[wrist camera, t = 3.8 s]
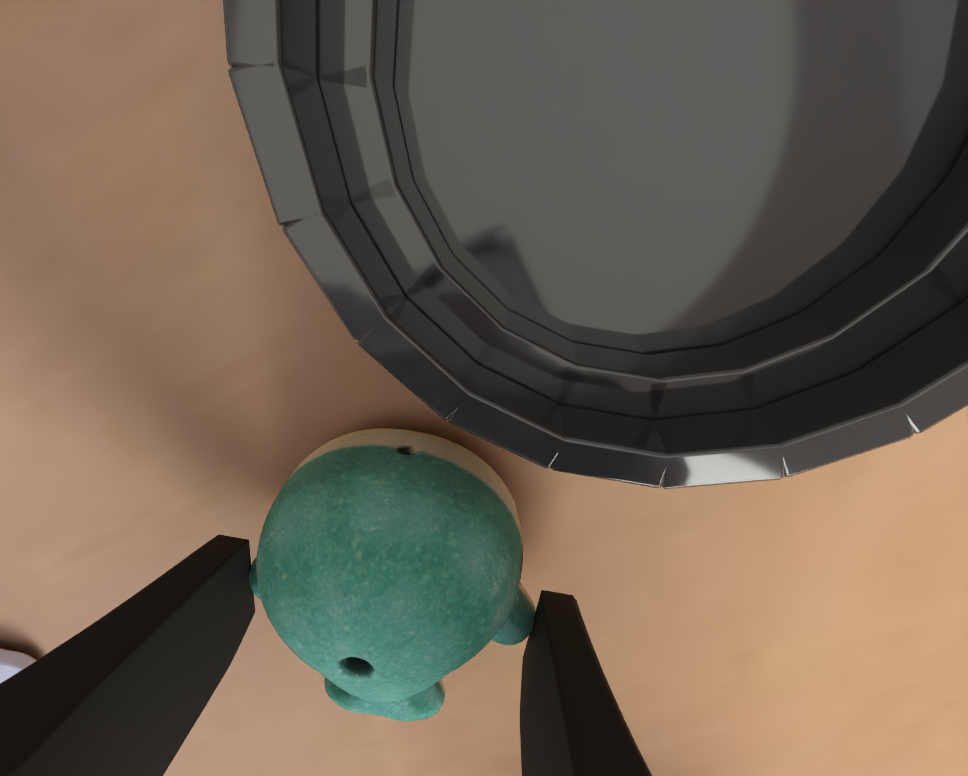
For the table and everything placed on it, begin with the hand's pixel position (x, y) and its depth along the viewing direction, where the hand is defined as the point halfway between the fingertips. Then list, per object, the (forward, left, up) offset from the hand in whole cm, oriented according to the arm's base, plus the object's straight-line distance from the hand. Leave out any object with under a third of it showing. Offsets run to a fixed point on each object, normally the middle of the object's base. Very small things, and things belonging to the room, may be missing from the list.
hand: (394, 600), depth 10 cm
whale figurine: (0, 0, -2) cm, 2 cm away
